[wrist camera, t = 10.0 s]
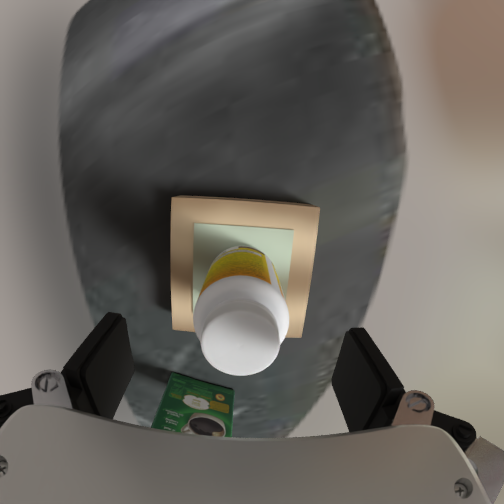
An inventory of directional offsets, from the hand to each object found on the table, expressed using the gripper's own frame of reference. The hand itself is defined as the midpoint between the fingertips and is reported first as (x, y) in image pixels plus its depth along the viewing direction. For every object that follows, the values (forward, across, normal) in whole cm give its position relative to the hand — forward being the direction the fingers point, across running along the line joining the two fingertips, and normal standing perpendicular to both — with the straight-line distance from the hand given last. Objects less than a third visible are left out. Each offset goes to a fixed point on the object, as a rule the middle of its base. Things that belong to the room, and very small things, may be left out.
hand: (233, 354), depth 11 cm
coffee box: (+15, +4, +17) cm, 23 cm away
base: (+16, 0, +1) cm, 16 cm away
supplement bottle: (+12, 0, +1) cm, 13 cm away
